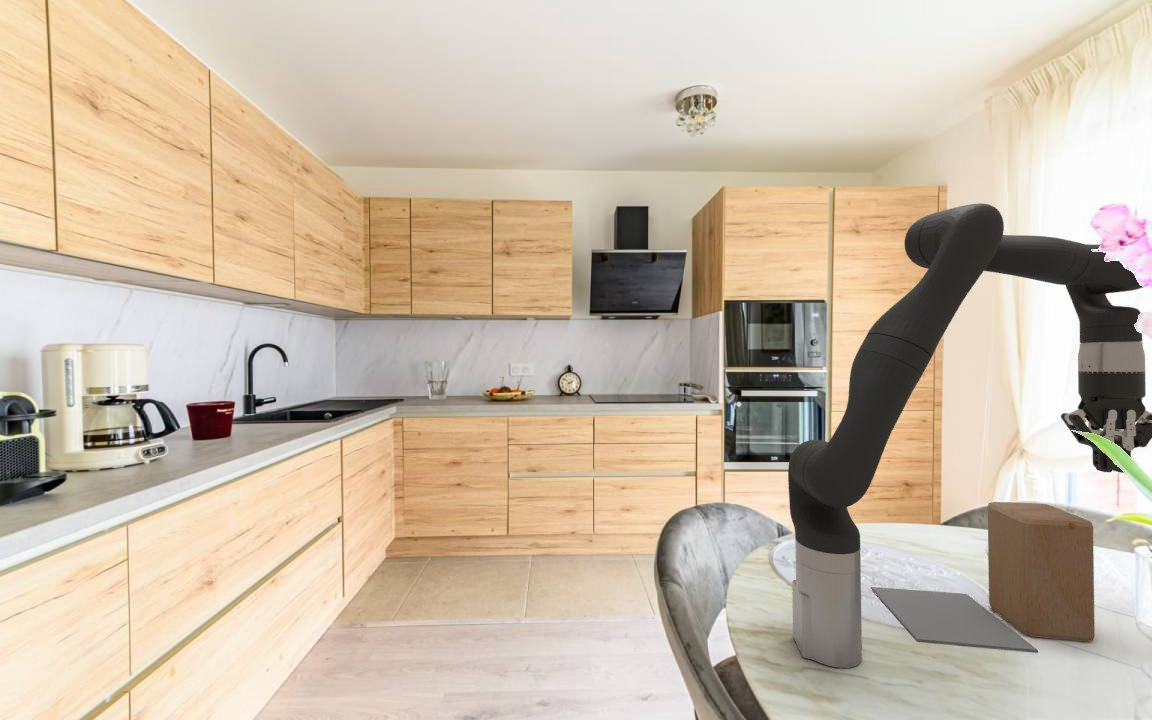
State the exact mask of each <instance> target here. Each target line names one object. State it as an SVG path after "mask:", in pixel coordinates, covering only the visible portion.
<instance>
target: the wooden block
mask: <svg viewBox="0 0 1152 720" xmlns="http://www.w3.org/2000/svg"><path fill="white" fill-rule="evenodd" d="M987 540H988V541H987V547H988V549H987V550H988V552H987V554H988V559H987V560H988V561H987V563H988V603H989V606H990V607H991V609H992V610H993V611H994V612H996V613H997V614H998V615H999V616H1001V618H1003V619H1004V620H1005V621H1007V622H1009V623H1010V624H1011V625H1012V626H1014V627H1015V628H1016V629H1017V630H1019V631H1020V632H1021V633H1023V635H1026V636H1027V637H1028V636H1029V637H1036V638H1048V639H1060V640H1069V641H1079V642H1080V641H1081V642H1082V641H1083V642H1092V641H1094V639H1095V636H1096V635H1095V634H1096V633H1095V574H1094V573H1095V572H1094V571H1095V565H1094V561H1095V560H1094V526H1093V523H1092V522H1091V521H1090V520H1089V519H1086V518H1083V517H1081V516H1078V515H1076V514H1073V513H1070V512H1068V511H1065V510H1063V509H1060V508H1057V507H1055V506H1053V505H1050V504H1047V503H1035V502H1033V503H1032V502H1030V503H1029V502H1010V501H1009V502H1007V501H1005V502H1004V501H992V502H988V504H987Z"/></svg>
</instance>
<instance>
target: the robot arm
mask: <svg viewBox="0 0 1152 720" xmlns="http://www.w3.org/2000/svg"><path fill="white" fill-rule="evenodd" d="M1004 228H1005V224H1004V218H1003V215H1002V214H1001V212H1000V210H999V209H998V208H997V207H995V206H993V205H992V204H988V203H981V202H980V203H979V202H978V203H971V204H970V203H969V204H963V205H960V206H957V207H952V208H948V209H945V210H941V211H937V212H934V213H930V214H928V215H925V216H923V217H921V218H920V219H917V220H916V221H915V222H914V223H913V224H912V225H910V227H909V228H908V230H907V231H906V235H905V237H904V251H905V253H906V256H907V257H908V258H909V259H910V261H911V262H912V263H914V264H915V265H916V266H918V267H920V268H923V269H927V270H926V272H925V274H924V275H923V277H922V278H921V279H920V280H919V281H918V283H917V284H916V285H915V286H914V287H913V288H912V289H911V290H909V292H908V293H906V294H905V295H904V296H903V297H902V298H900V299H899V300H898V301H897V302H896V303H895V304H893V306H891V307H890V308H888V309H887V310H886V311H885V312H884V313H883V314H882V315H881V316H880V317H879V318H878V319H877V320H876V321H875V322H874V324H873V325H872V326H871V327H870V329H869V330H868V332H867V333H866V336H865V338H863V339H864V340H863V341H862V343H861V345H860V347H859V348H858V350H857V352H856V355H855V356H854V359H853V361H852V364H851V368H850V375H849V385H848V399H847V403H846V404H847V405H846V409H845V411H844V414H843V416H842V418H841V421H840V422H839V424H838V426H837V428H836V429H835V431H834V433H833V434H832V436H831V438H830V439H829V441H826V440H821V439H809V440H806V441H804V442H802V443H800V444H798V445H797V446H796V447H795V449H794V450H793V451H792V453H791V455H790V458H789V462H788V467H787V468H788V469H787V473H788V474H787V475H788V477H787V481H788V482H787V484H788V500H789V514H790V518H791V521H792V524H793V527H794V528H793V529H794V539H795V541H794V544H795V550H794V551H795V579H793V580H792V581H791V584H792V585H791V586H792V587H791V588H792V589H791V591H792V637H793V639H794V641H795V643H796V646H797V648H798V650H799V652H800V655H801V657H802V658H804V659H809V660H813V661H815V662H817V663H819V664H822V665H826V666H830V667H834V668H840V669H841V668H843V669H845V668H847V669H848V668H853V667H856V666H859V664H860V663H861V662H862V661H863V660H862V659H863V656H862V655H863V653H862V652H863V642H862V641H863V640H862V639H863V638H862V634H863V633H862V581H861V580H862V575H861V574H862V573H861V572H862V570H861V568H862V567H861V566H862V565H861V564H862V563H861V560H862V559H861V533H860V531H859V528H858V527H857V525H856V523H855V522H854V520H853V518H852V517H851V515H850V512H849V510H848V507H852V506H853V505H855V504H857V503H858V502H859V501H860V500H861V499H863V497H864V495H866V493H867V491H868V490H869V488H870V486H871V484H872V482H873V480H874V477H875V474H876V472H877V469H878V468H879V467H878V466H879V464H880V461H881V459H882V456H883V453H884V451H885V450H886V449H885V448H886V446H887V444H888V441H889V438H890V437H891V434H892V432H893V430H894V429H895V427H896V424H897V423H898V421H899V419H900V417H901V414H902V413H903V411H904V409H905V407H906V405H907V403H908V401H909V400H910V397H911V395H912V393H913V391H914V390H915V388H916V387H917V385H918V383H919V382H920V380H921V378H922V376H923V374H924V372H925V371H926V370H927V367H928V365H929V363H930V361H931V359H932V358H933V355H934V354H935V351H936V349H937V347H938V345H939V343H940V342H941V339H942V338H943V336H944V334H945V332H946V331H947V329H948V327H949V325H950V324H951V322H952V320H953V318H954V317H955V315H956V313H957V311H958V310H959V308H960V306H961V304H962V303H963V301H965V298H966V297H967V296H968V294H969V293H970V291H971V290H972V288H973V287H974V285H975V284H976V283H977V281H978V280H979V279H980V277H981V275H982V274H983V273H984V272H989V273H996V274H1002V275H1008V276H1015V277H1019V278H1020V277H1021V278H1024V279H1029V280H1034V281H1038V282H1044V283H1049V284H1052V285H1053V284H1054V285H1061V286H1065V288H1066V291H1067V293H1068V295H1069V298H1070V300H1071V302H1072V305H1073V307H1074V311H1075V313H1076V315H1077V318H1078V321H1079V348H1078V354H1077V355H1078V356H1077V378H1078V379H1077V385H1078V387H1077V388H1078V389H1077V390H1078V391H1077V393H1078V395H1079V397H1080V402H1079V403H1078V406H1077V409H1076V410H1074V411H1072V412H1070V413H1069V412H1068V413H1067V412H1066V413H1065V412H1063V413H1062V414H1060V418H1061V420H1062V422H1063V423H1064V424H1065V426H1066V427H1067V428H1068V430H1069V431H1070V433H1071V434H1072V435H1073V437H1074V438H1075V439H1076V441H1077V442H1078V443H1079V444H1080V445H1086V446H1088V447H1090V448H1091V449H1092V465H1093V467H1094V468H1095V469H1096V471H1099V472H1103V473H1112V472H1116V473H1120V474H1123V473H1124V472H1123V471H1122V470H1121V469H1120V468H1119V467H1117V465H1115V464H1114V463H1113V461H1112V460H1111V459H1110V458H1109V457H1108V456H1107V455H1106V454H1105V453H1103V452H1102V451H1101V450H1100V449H1099V448H1098V447H1097V446H1096V445H1095V444H1094V443H1093V442H1091V441H1090V440H1088V439H1087V438H1085V437H1084V436H1082V435H1080V434H1078V433H1076V432H1073V431H1071V430H1076V431H1082V432H1089V433H1094V434H1097V435H1100V436H1102V437H1104V438H1106V439H1108V440H1110V441H1111V443H1112V442H1114V443H1115V444H1117V445H1118V446H1120V447H1121V448H1122V449H1123V450H1124V451H1125V452H1126V453H1127V454H1128V455H1129V456H1130V457H1131V458H1132V451H1134V449H1136V448H1145V447H1146V446H1147V445H1148V444H1149V443H1150V441H1151V439H1152V412H1150V411H1148V410H1146V409H1147V408H1146V406H1145V405H1144V403H1143V401H1142V400H1143V398H1145V397H1146V390H1147V389H1146V354H1145V350H1144V345H1143V344H1144V343H1143V333H1142V334H1141V333H1139V332H1137V331H1136V329H1135V327H1134V324H1135V323H1136V322H1137V319H1138V315H1139V314H1140V313H1141V311H1140V309H1138V308H1135V307H1134V306H1133V307H1131V306H1121V305H1113V304H1112V303H1111V302H1110V301H1109V299H1108V297H1107V295H1106V294H1114V293H1123V292H1133V291H1136V290H1141V289H1143V288H1144V287H1142V286H1140V285H1139V283H1138V282H1137V280H1136V278H1135V276H1134V274H1133V273H1132V272H1131V271H1129V270H1127V269H1125V268H1124V267H1123V265H1122V264H1121V263H1120V262H1119V261H1110V262H1105V261H1104V257H1105V255H1106V253H1103V252H1092V251H1091V249H1098V248H1099V246H1100V245H1101V244H1090V243H1089V244H1086V243H1082V242H1078V241H1073V240H1068V239H1065V238H1059V237H1053V236H1043V235H1022V234H1021V235H1018V234H1017V235H1016V234H1004V231H1005V230H1004ZM1098 251H1099V250H1098ZM1141 314H1142V313H1141ZM1086 422H1088V423H1086ZM1087 424H1088V425H1087ZM1124 474H1125V473H1124Z"/></svg>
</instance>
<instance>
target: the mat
mask: <svg viewBox="0 0 1152 720" xmlns="http://www.w3.org/2000/svg"><path fill="white" fill-rule="evenodd" d="M871 589H872V590H873V591H874V592H875V593H876V594H877V595H876V594H875V593H874V592H873V591H872V590H871ZM870 590H871V591H872V592H873V593H874V594H875V595H876V597H877V596H878V597H879V598H880V599H881V600H880V599H879V598H878V597H877V598H878V599H879V600H880V602H882V604H883V605H884V604H885V605H884V606H885V607H886V608H887V609H888V610H889V612H890V613H892V615H893V616H894V617H895V618H896V619H897V620H898V622H899V621H900V624H901V626H903V627H904V629H906V631H907V632H908V633H909V634H910V635H911V637H912V638H914V640H915V641H916V642H921V643H930V644H942V645H953V646H961V647H962V646H963V647H975V648H984V649H986V648H987V649H997V650H1005V651H1017V652H1028V653H1038V652H1039V649H1037V648H1036V647H1034V646H1033V645H1032V644H1031V643H1030V642H1029V641H1027V640H1026V639H1025V638H1023V637H1022V636H1021V635H1019V633H1017V632H1016V631H1015V630H1013V629H1012V628H1011V627H1009V626H1008V625H1007V624H1006V623H1004V622H1003V621H1002V620H1001V619H999V618H998V617H997V616H996V615H994V614H993V613H992V612H990V611H989V610H988V609H986V608H985V607H984V606H983V605H982V604H980V603H979V602H977V600H975V599H974V598H972V597H971V596H970V595H969V594H967V593H958V592H947V591H946V592H945V591H944V592H943V591H932V590H919V589H907V588H906V589H905V588H890V587H877V586H876V587H875V586H870Z"/></svg>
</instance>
